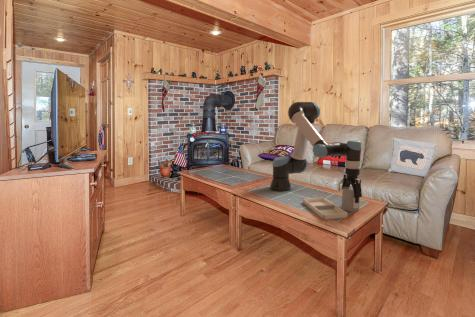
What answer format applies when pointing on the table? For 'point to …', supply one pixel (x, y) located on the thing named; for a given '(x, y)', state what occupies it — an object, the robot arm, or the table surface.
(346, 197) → the white speckled round cylinder
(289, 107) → the robot arm
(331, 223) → the table surface
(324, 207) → the tray
